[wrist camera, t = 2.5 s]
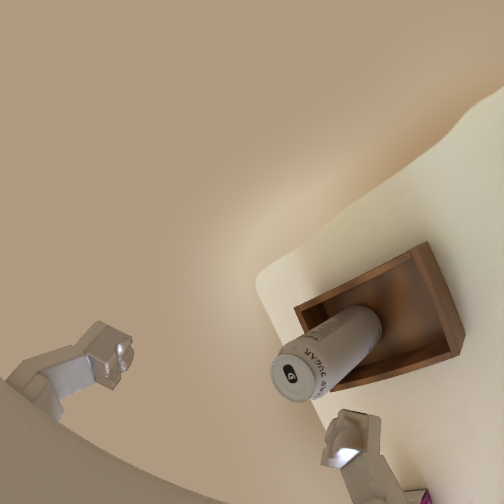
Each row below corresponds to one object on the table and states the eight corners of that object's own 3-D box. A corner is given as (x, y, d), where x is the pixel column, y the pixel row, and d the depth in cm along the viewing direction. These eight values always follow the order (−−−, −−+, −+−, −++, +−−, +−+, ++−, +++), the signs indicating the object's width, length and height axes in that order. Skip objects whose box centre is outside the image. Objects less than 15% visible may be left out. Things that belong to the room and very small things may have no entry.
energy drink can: (351, 354, 39) (281, 411, 28) (334, 312, 40) (255, 355, 29) (391, 340, 35) (331, 403, 24) (373, 295, 36) (303, 340, 25)
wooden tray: (427, 240, 31) (416, 246, 27) (465, 335, 29) (459, 355, 25) (317, 297, 42) (293, 307, 38) (350, 373, 40) (330, 392, 36)
